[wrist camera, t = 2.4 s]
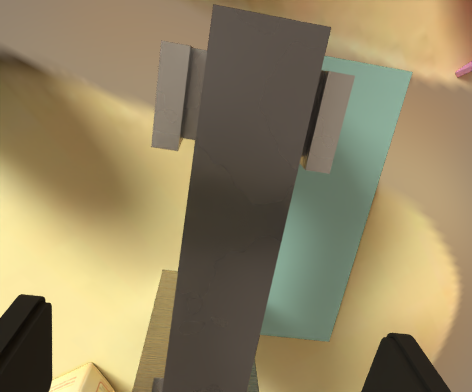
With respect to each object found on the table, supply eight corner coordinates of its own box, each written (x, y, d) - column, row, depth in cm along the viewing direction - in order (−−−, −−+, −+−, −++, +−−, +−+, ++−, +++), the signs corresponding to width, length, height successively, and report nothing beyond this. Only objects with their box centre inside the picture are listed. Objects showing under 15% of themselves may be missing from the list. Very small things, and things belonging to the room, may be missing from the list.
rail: (217, 445, 18) (218, 514, 16) (156, 441, 18) (146, 511, 15) (304, 35, 12) (331, 27, 9) (213, 17, 12) (213, 4, 9)
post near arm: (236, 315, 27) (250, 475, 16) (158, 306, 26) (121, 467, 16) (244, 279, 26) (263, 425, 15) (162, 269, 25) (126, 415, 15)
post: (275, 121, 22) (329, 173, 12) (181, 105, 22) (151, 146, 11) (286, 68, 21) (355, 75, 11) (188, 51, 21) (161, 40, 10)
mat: (326, 335, 28) (329, 341, 27) (253, 328, 27) (254, 333, 27) (407, 71, 22) (412, 72, 21) (314, 54, 21) (317, 54, 20)
